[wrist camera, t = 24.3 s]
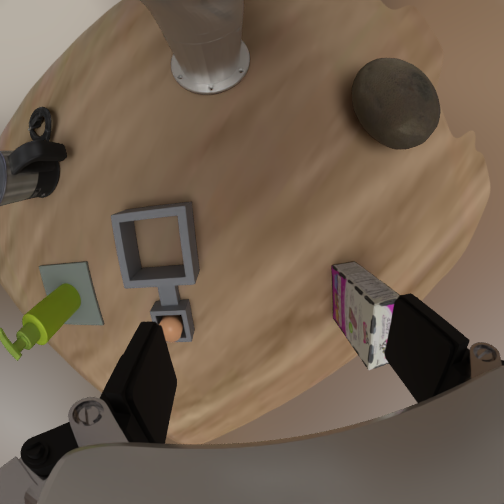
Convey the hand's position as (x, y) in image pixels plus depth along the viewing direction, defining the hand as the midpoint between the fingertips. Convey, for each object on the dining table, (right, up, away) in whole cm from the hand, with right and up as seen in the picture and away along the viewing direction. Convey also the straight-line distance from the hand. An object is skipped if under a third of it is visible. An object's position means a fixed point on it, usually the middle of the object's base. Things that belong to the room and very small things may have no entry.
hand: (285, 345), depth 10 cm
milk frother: (-40, +22, +27) cm, 53 cm away
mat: (-37, -5, +35) cm, 51 cm away
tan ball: (-15, -9, +35) cm, 39 cm away
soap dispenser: (-37, -5, +34) cm, 51 cm away
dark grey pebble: (+20, +28, +29) cm, 45 cm away
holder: (-16, 0, +35) cm, 38 cm away
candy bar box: (+16, -3, +38) cm, 41 cm away
